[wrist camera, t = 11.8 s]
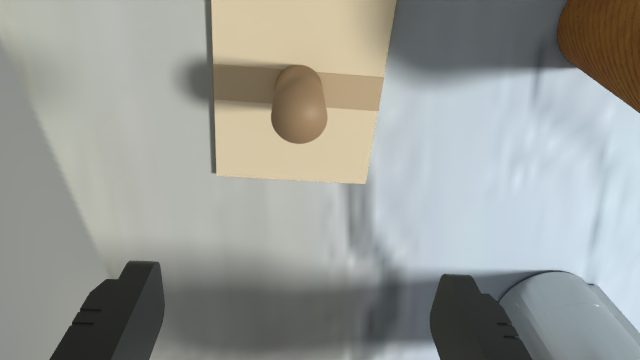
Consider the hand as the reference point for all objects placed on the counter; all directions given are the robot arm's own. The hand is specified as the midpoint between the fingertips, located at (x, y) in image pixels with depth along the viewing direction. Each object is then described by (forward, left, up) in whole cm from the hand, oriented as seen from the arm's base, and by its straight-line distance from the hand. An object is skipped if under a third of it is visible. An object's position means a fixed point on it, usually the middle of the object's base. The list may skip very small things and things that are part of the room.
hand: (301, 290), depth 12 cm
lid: (0, 0, -20) cm, 20 cm away
